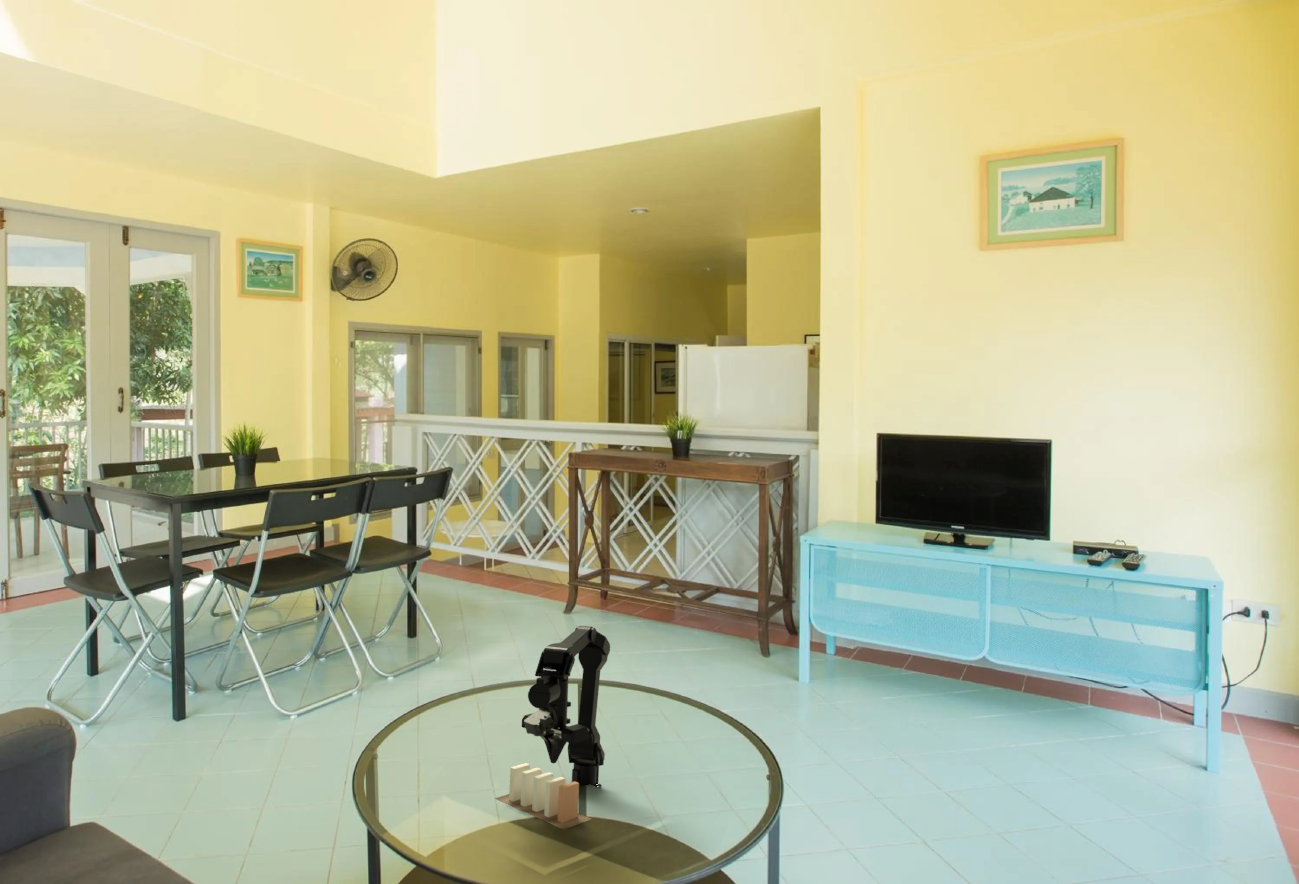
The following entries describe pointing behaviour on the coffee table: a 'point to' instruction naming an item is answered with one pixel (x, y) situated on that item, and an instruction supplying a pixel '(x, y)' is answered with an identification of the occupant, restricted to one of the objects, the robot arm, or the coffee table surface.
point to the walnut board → (540, 814)
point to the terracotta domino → (568, 801)
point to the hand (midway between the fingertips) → (553, 762)
